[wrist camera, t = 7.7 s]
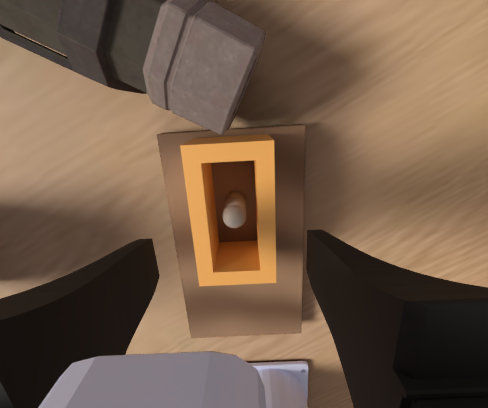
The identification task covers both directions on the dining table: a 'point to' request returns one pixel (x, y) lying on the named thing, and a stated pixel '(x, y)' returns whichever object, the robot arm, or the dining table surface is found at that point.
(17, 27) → the tube
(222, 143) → the link
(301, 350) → the dining table surface
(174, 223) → the keeper base
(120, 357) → the robot arm
